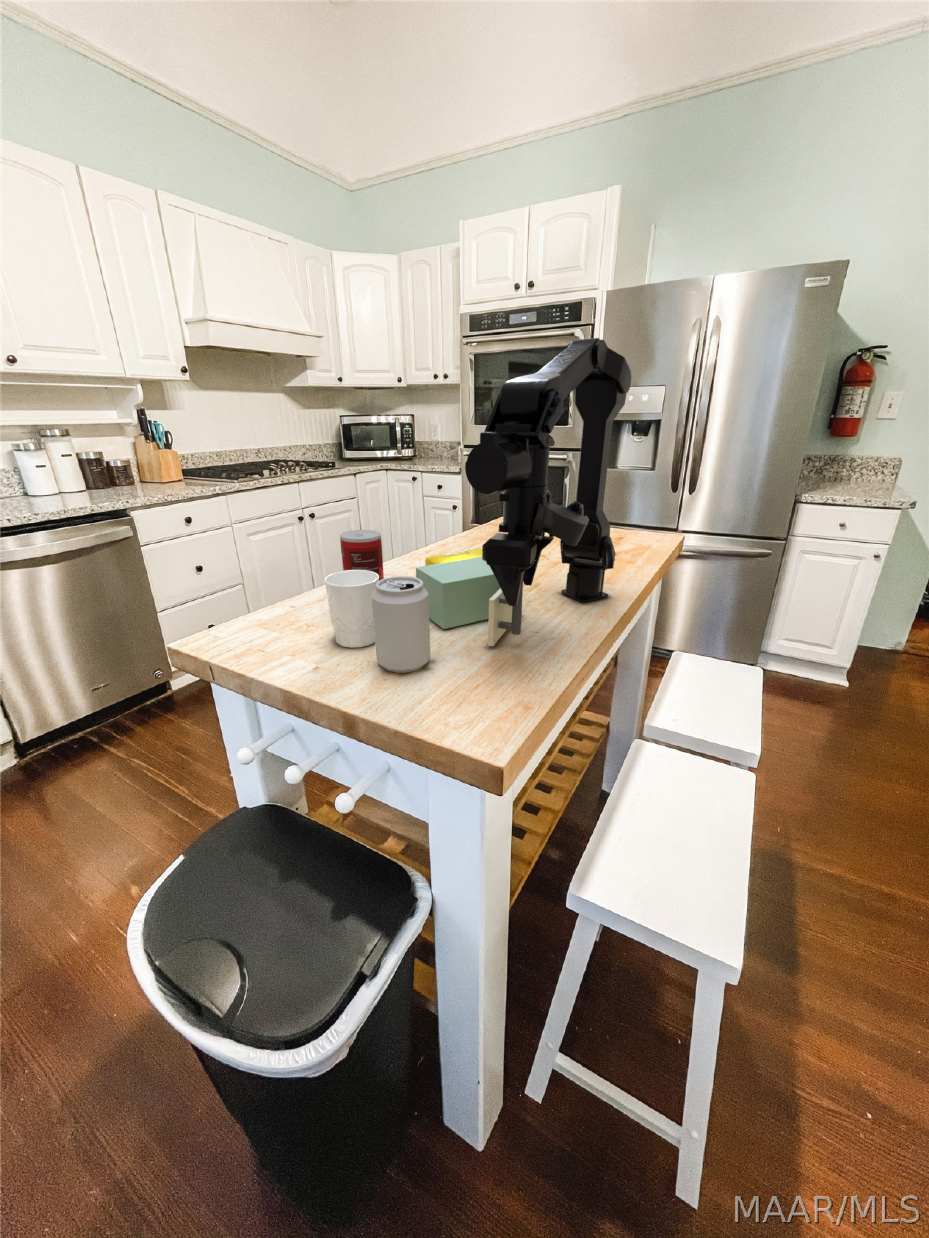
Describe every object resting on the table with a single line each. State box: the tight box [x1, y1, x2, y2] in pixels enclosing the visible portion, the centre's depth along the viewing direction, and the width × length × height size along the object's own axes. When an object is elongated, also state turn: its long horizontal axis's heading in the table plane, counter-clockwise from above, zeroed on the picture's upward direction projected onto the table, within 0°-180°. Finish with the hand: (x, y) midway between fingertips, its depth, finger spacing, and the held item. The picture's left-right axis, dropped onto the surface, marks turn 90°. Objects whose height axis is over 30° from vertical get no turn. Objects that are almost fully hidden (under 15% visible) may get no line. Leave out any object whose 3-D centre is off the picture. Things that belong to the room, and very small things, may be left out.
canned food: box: [339, 529, 385, 581], centre depth 97 cm, size 8×8×11 cm
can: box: [372, 575, 431, 674], centre depth 68 cm, size 8×8×12 cm
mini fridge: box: [415, 557, 500, 630], centre depth 86 cm, size 14×10×8 cm
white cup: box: [324, 570, 379, 649], centre depth 76 cm, size 8×8×10 cm
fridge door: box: [487, 579, 524, 647], centre depth 77 cm, size 14×4×12 cm, turn 158°
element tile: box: [424, 547, 482, 566], centre depth 103 cm, size 15×15×5 cm
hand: (520, 594), depth 72 cm, fingers open, 9 cm apart
